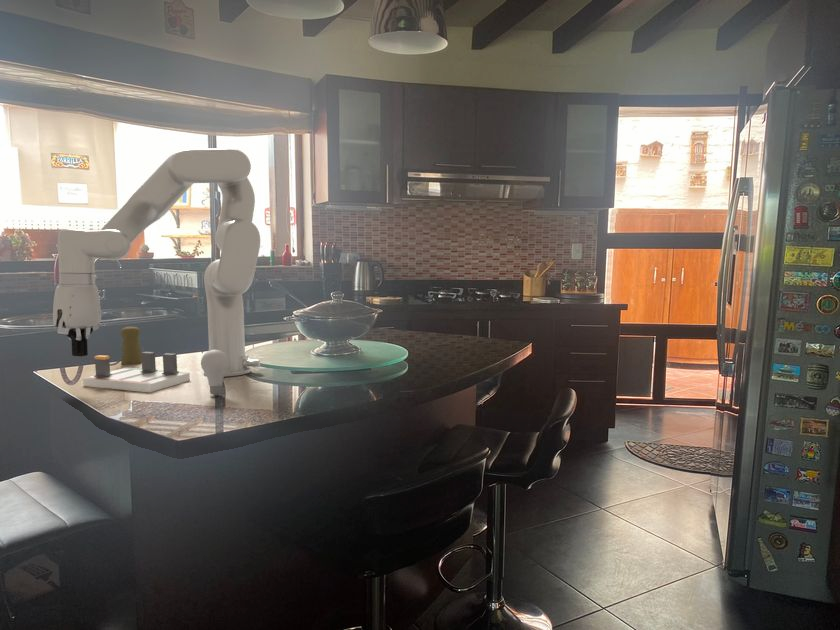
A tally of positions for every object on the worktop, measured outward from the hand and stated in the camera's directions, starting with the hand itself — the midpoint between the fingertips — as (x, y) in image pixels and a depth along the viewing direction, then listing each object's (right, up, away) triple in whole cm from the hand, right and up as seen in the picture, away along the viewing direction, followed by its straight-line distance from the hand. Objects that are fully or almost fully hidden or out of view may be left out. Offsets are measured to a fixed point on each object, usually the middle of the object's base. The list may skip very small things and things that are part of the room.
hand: (79, 355), depth 144 cm
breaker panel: (+10, -8, +8) cm, 15 cm away
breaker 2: (+18, -5, +9) cm, 21 cm away
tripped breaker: (+2, -6, +6) cm, 9 cm away
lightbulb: (+35, -9, -5) cm, 37 cm away
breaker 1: (+12, -5, +12) cm, 17 cm away
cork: (-4, -5, +35) cm, 36 cm away
